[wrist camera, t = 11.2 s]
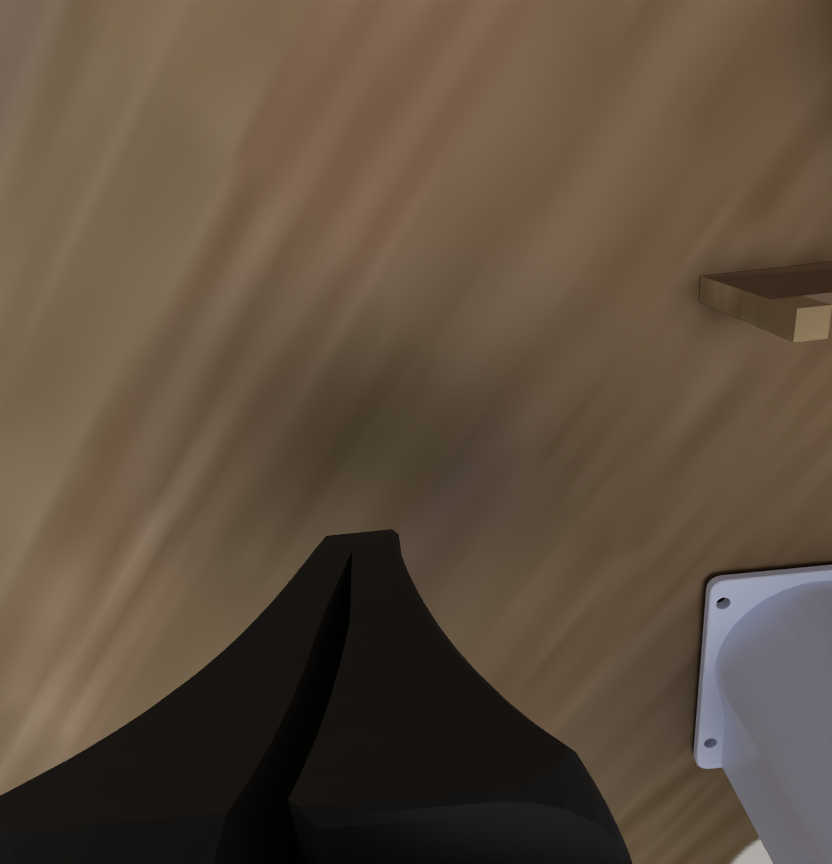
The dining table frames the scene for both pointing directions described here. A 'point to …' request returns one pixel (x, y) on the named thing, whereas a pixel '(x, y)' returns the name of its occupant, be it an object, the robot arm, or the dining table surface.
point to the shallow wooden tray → (776, 299)
